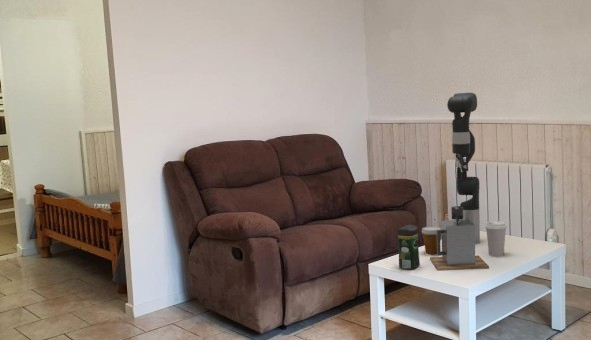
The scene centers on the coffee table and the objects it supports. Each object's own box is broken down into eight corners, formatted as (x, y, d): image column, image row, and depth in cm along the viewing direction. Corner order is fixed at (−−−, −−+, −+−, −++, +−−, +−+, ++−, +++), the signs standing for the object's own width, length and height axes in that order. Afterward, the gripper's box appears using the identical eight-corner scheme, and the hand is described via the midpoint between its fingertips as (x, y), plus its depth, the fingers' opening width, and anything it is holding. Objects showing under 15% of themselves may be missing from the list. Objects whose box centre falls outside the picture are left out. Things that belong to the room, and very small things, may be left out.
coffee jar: (405, 263, 278) (404, 222, 276) (422, 265, 273) (420, 224, 271) (395, 268, 270) (394, 227, 268) (412, 270, 266) (411, 228, 264)
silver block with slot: (435, 258, 279) (434, 220, 277) (469, 257, 278) (468, 219, 276) (440, 266, 267) (439, 226, 265) (476, 264, 266) (475, 225, 264)
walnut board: (430, 259, 282) (429, 257, 282) (478, 257, 281) (478, 255, 281) (437, 270, 264) (437, 268, 264) (489, 268, 263) (489, 266, 263)
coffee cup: (484, 251, 290) (483, 220, 288) (505, 251, 288) (505, 220, 286) (486, 257, 281) (485, 224, 279) (508, 257, 279) (508, 224, 277)
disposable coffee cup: (443, 255, 287) (442, 230, 286) (422, 255, 289) (421, 230, 288) (442, 250, 297) (441, 226, 295) (422, 250, 299) (421, 226, 297)
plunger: (446, 249, 276) (445, 206, 274) (465, 248, 276) (464, 205, 274) (450, 254, 268) (449, 209, 266) (470, 253, 268) (469, 208, 265)
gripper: (473, 143, 261) (474, 181, 263) (466, 140, 275) (467, 176, 277) (455, 144, 261) (456, 182, 263) (449, 141, 275) (450, 177, 277)
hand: (462, 179), depth 270 cm, fingers open, 8 cm apart
